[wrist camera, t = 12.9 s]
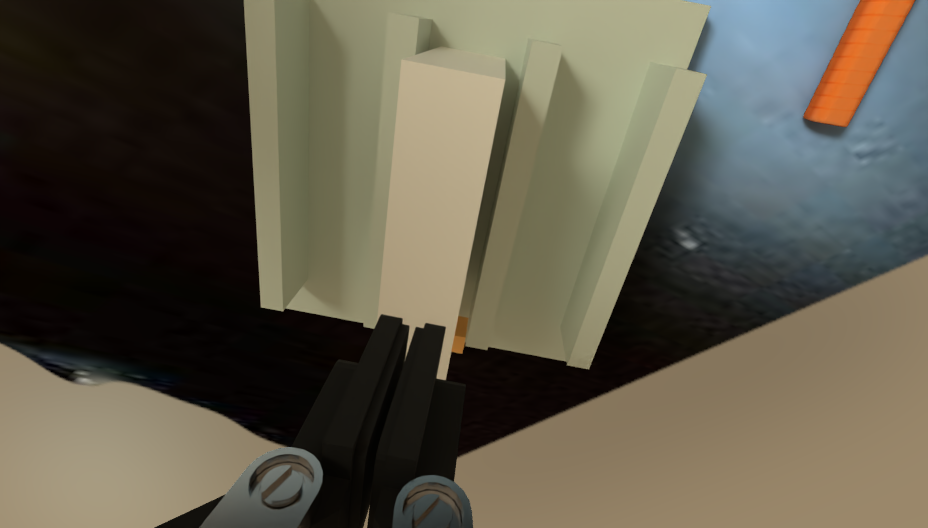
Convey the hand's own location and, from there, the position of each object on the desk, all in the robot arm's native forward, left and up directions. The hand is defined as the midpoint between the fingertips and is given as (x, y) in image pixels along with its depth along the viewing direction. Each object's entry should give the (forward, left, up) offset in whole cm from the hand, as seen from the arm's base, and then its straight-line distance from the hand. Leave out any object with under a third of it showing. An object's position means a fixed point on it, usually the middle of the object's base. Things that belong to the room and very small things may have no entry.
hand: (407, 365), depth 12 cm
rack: (0, 0, -15) cm, 15 cm away
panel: (-1, 0, -14) cm, 14 cm away
